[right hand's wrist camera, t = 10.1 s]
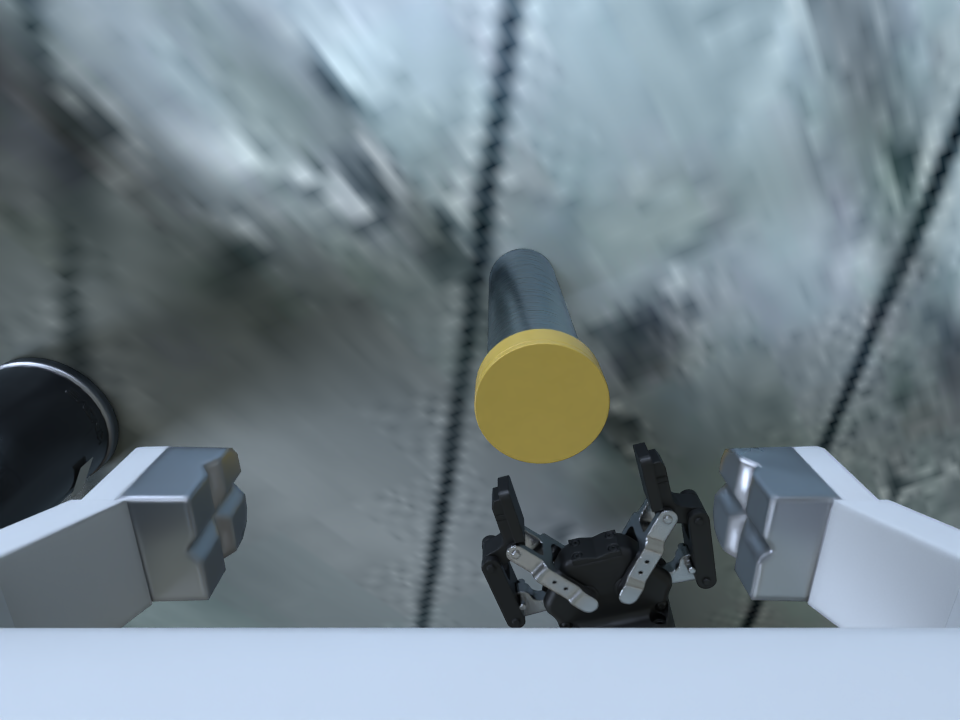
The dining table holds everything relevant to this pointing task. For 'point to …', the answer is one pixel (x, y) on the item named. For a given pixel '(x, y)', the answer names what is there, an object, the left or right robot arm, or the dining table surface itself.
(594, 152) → the dining table surface
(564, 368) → the lid
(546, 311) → the dark grey cylinder
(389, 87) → the dining table surface
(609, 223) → the dining table surface
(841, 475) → the right robot arm
